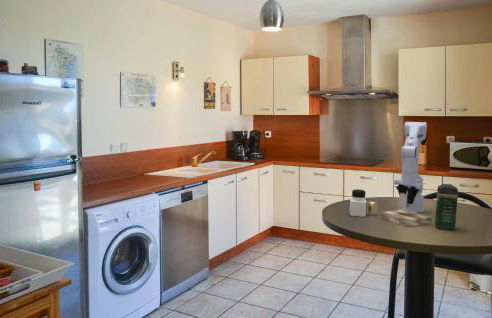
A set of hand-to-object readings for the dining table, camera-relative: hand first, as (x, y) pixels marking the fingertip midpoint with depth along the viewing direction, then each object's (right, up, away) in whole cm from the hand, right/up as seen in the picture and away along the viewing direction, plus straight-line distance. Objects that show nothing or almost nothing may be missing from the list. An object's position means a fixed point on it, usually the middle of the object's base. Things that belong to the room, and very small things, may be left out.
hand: (406, 202), depth 196 cm
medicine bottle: (-19, -7, +12) cm, 23 cm away
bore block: (0, -8, +1) cm, 8 cm away
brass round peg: (-12, -7, +13) cm, 19 cm away
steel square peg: (0, -2, 0) cm, 2 cm away
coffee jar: (+13, -10, -9) cm, 19 cm away
